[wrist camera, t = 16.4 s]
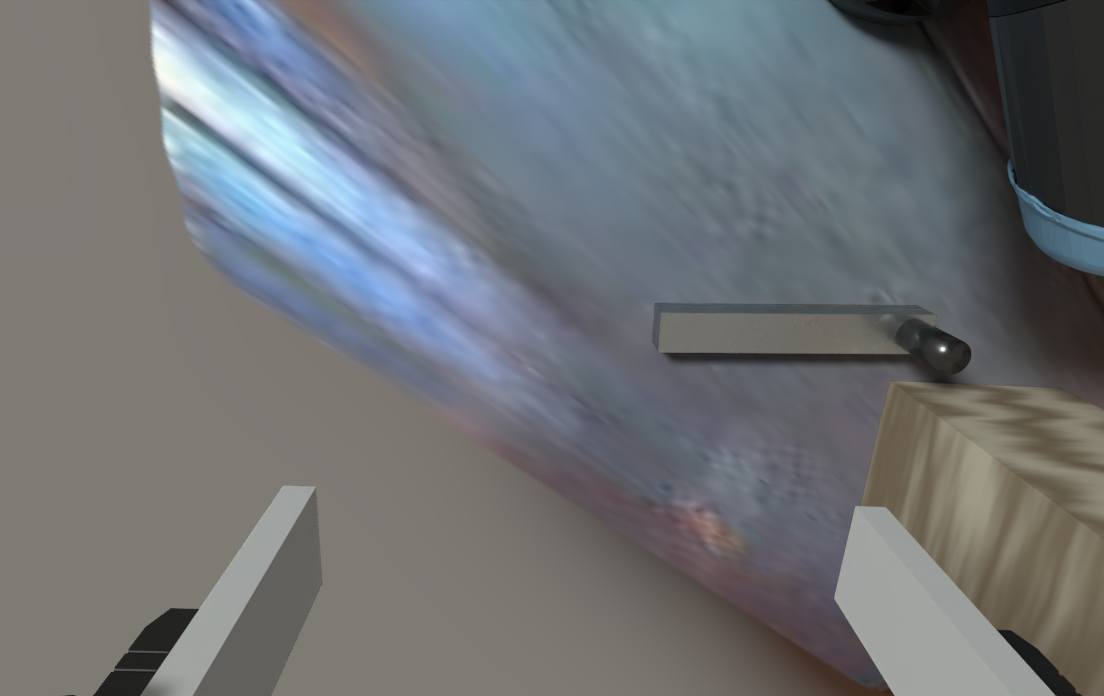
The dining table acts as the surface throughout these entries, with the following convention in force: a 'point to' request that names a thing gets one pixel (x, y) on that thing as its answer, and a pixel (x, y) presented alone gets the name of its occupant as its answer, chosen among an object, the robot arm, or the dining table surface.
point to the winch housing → (1005, 507)
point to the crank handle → (807, 331)
